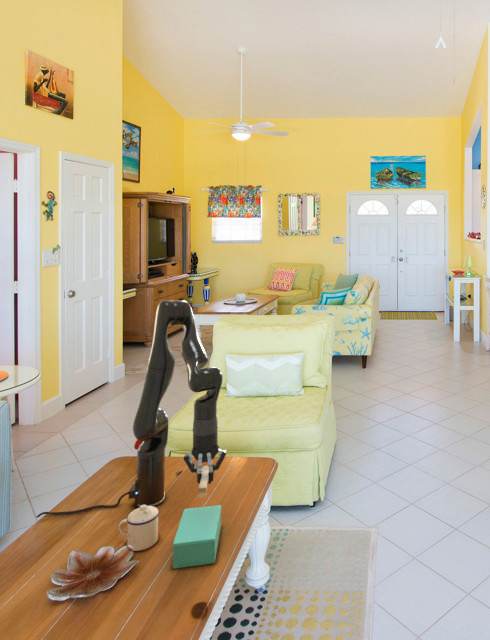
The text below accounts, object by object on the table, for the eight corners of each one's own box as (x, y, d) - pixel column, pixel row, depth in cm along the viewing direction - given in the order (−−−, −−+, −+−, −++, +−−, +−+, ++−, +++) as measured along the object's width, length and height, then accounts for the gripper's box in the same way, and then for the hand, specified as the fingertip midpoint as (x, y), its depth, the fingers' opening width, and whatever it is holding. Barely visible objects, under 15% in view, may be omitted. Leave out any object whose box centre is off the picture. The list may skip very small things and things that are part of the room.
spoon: (211, 496, 143) (211, 486, 143) (192, 498, 142) (192, 489, 142) (216, 470, 160) (216, 461, 160) (199, 472, 158) (199, 463, 158)
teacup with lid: (163, 533, 152) (163, 498, 152) (150, 552, 143) (150, 514, 143) (126, 533, 152) (127, 497, 152) (111, 552, 143) (111, 514, 143)
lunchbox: (214, 563, 138) (214, 540, 138) (172, 568, 136) (173, 545, 136) (220, 527, 156) (221, 507, 156) (184, 531, 153) (184, 511, 153)
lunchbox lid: (214, 541, 138) (214, 538, 138) (172, 546, 135) (172, 544, 135) (221, 507, 156) (221, 504, 156) (184, 511, 153) (184, 508, 153)
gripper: (228, 423, 156) (228, 475, 156) (184, 427, 153) (184, 480, 153) (226, 432, 149) (226, 486, 149) (180, 436, 146) (180, 492, 145)
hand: (205, 483), depth 151 cm, fingers closed on spoon, 2 cm apart
